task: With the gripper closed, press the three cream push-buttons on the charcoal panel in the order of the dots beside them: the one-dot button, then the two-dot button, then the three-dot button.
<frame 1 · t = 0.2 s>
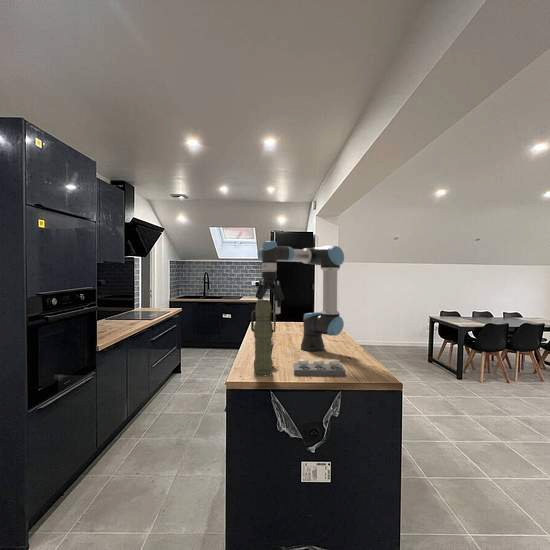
hand: (269, 312, 185), 28 cm above the table, tool pointing down, fingers open, 13 cm apart
button two dots: (303, 364, 175), point 4 cm above the table, slide at 0.0 cm
thermos: (262, 373, 172), on the table
button panel: (318, 372, 174), on the table
button one dot: (334, 364, 174), point 4 cm above the table, slide at 0.0 cm
button three dots: (318, 364, 174), point 4 cm above the table, slide at 0.0 cm
plastic cup: (264, 364, 189), on the table
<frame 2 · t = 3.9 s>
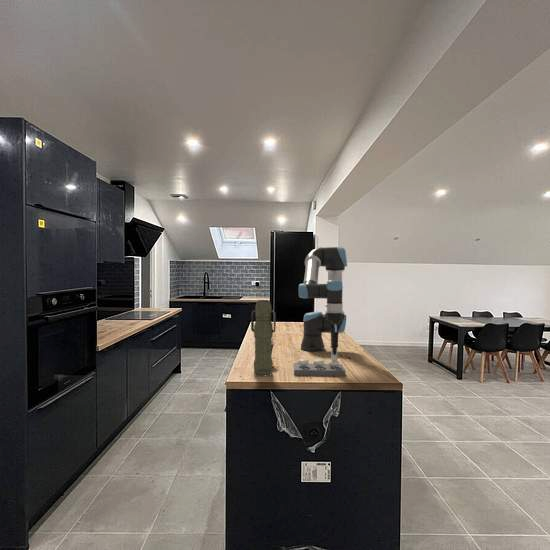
hand: (334, 360, 174), 6 cm above the table, tool pointing down, fingers closed
button one dot: (334, 365, 174), point 4 cm above the table, slide at 0.2 cm, touching gripper
everything else where it was.
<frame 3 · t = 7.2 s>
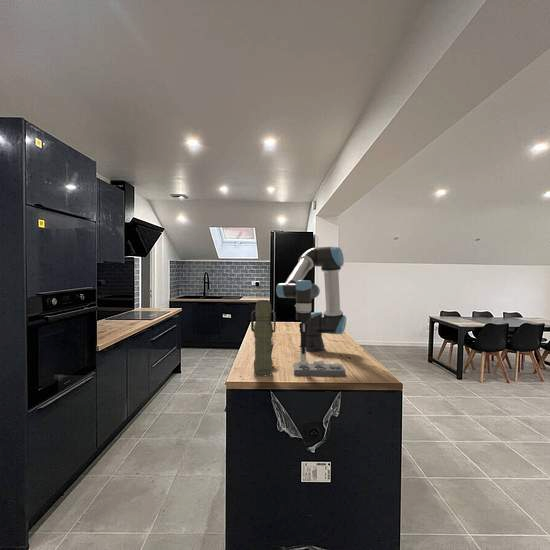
hand: (303, 360, 175), 6 cm above the table, tool pointing down, fingers closed
button two dots: (303, 364, 175), point 4 cm above the table, slide at 0.2 cm, touching gripper
button one dot: (334, 367, 174), point 3 cm above the table, slide at 1.1 cm
everything else where it was.
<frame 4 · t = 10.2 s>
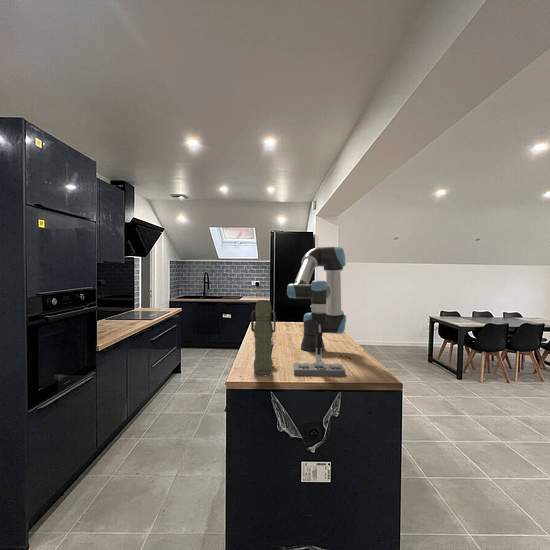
hand: (318, 360, 174), 6 cm above the table, tool pointing down, fingers closed
button two dots: (303, 366, 175), point 3 cm above the table, slide at 1.1 cm
button three dots: (318, 365, 174), point 3 cm above the table, slide at 0.4 cm, touching gripper
everything else where it was.
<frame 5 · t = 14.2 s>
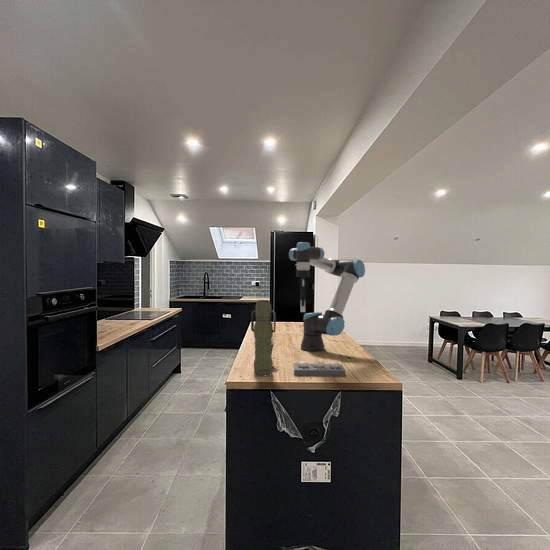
hand: (302, 311, 201), 26 cm above the table, tool pointing down, fingers closed
button three dots: (318, 366, 174), point 3 cm above the table, slide at 1.1 cm
everything else where it was.
at the end: button one dot slide at 1.1 cm; button two dots slide at 1.1 cm; button three dots slide at 1.1 cm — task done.
